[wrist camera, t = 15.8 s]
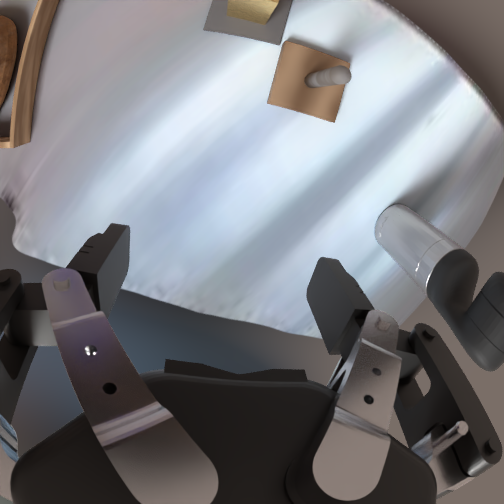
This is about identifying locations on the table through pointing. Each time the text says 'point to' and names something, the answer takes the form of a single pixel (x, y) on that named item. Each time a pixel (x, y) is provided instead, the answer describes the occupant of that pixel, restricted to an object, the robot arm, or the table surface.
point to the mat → (248, 22)
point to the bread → (6, 53)
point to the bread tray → (29, 74)
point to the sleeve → (251, 9)
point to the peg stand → (309, 81)
